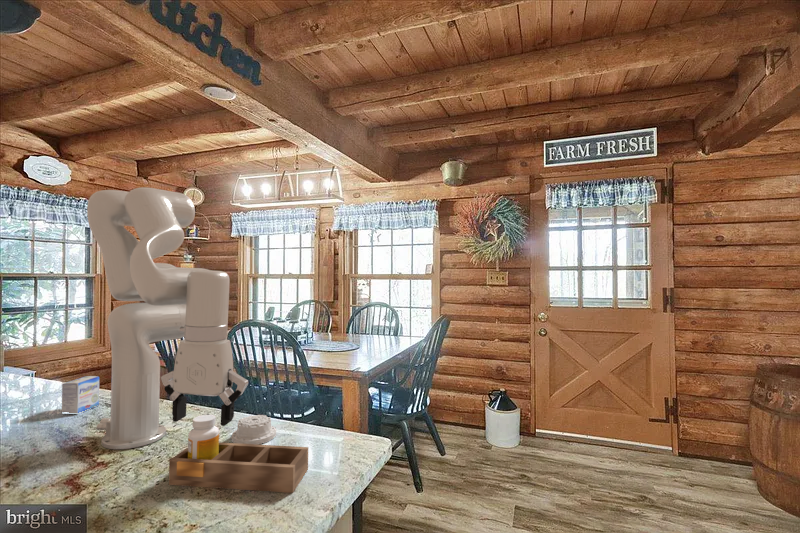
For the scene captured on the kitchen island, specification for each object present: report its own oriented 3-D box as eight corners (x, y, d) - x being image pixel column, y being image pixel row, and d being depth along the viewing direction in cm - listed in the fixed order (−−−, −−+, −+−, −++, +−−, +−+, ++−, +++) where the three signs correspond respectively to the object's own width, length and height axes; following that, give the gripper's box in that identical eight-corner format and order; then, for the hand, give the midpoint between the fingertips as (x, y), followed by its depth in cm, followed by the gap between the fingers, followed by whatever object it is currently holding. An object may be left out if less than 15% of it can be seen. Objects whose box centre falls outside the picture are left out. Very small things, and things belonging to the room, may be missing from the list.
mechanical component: (222, 444, 92) (262, 449, 90) (222, 425, 92) (262, 429, 90) (247, 428, 102) (283, 432, 100) (247, 410, 102) (283, 414, 100)
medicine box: (77, 415, 109) (78, 383, 109) (60, 415, 109) (61, 383, 109) (99, 405, 117) (100, 375, 117) (84, 405, 117) (84, 375, 117)
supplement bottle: (224, 463, 80) (225, 414, 80) (206, 476, 75) (208, 423, 75) (199, 460, 81) (200, 412, 81) (180, 473, 76) (182, 421, 76)
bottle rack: (167, 486, 74) (167, 461, 74) (196, 463, 83) (196, 441, 83) (292, 494, 72) (292, 468, 72) (308, 469, 80) (308, 447, 81)
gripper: (151, 334, 76) (147, 425, 76) (239, 339, 74) (235, 432, 74) (177, 328, 83) (173, 411, 83) (257, 333, 82) (254, 417, 82)
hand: (202, 421), depth 79 cm, fingers open, 9 cm apart
